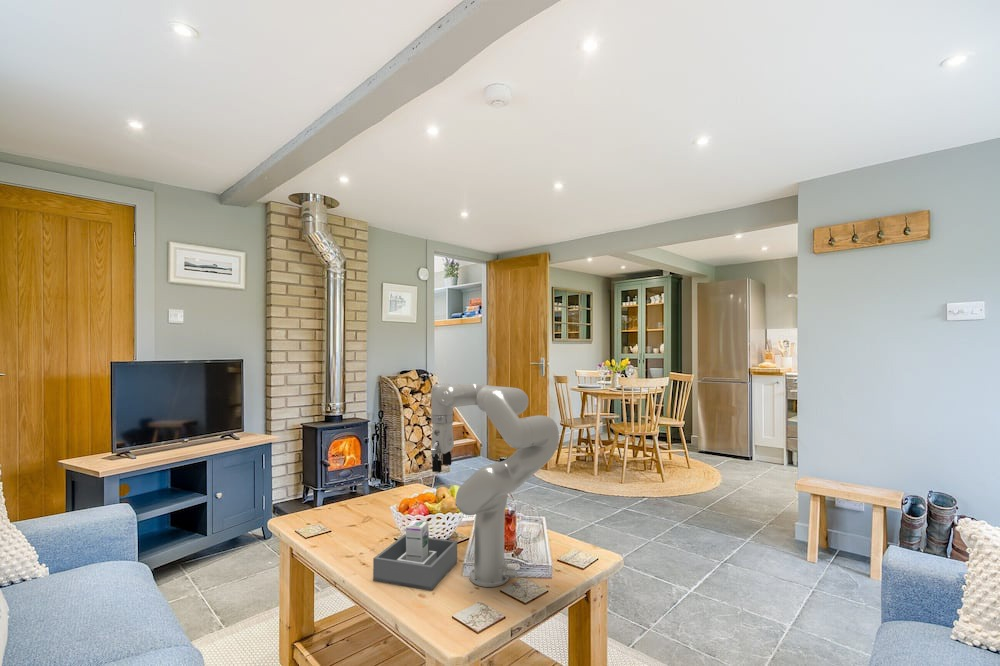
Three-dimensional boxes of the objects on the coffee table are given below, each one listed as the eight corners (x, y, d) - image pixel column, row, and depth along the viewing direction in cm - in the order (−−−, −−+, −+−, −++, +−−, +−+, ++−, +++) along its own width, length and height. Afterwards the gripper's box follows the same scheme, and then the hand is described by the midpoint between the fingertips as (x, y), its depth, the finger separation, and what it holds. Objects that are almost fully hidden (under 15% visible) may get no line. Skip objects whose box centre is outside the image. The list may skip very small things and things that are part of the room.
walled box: (457, 562, 166) (457, 541, 166) (431, 590, 147) (431, 567, 147) (404, 554, 172) (404, 534, 172) (373, 580, 153) (373, 558, 153)
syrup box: (422, 573, 156) (422, 527, 156) (405, 571, 157) (405, 525, 158) (429, 565, 162) (429, 520, 162) (412, 563, 163) (412, 519, 163)
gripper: (443, 423, 162) (443, 475, 162) (460, 415, 179) (460, 462, 179) (422, 422, 164) (422, 474, 164) (441, 415, 181) (441, 461, 180)
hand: (442, 468), depth 171 cm, fingers open, 9 cm apart
